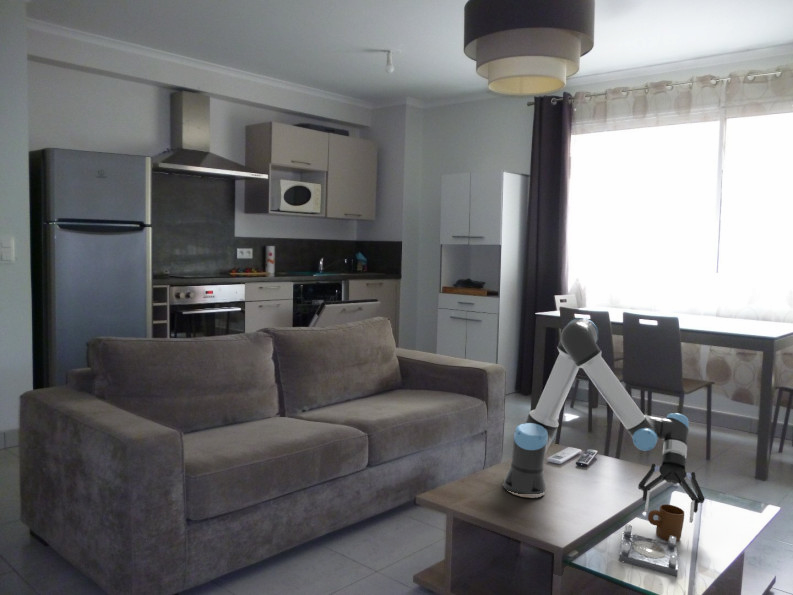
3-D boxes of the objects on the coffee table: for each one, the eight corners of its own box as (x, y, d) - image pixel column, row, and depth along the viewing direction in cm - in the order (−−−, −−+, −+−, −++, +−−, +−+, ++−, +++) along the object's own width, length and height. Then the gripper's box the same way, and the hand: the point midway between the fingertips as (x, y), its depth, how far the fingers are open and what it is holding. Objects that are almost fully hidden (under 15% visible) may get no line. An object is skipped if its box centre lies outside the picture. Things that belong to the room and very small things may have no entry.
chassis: (618, 560, 195) (621, 545, 194) (621, 537, 209) (624, 522, 209) (676, 576, 189) (679, 560, 188) (675, 551, 204) (678, 536, 203)
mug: (651, 543, 208) (656, 515, 206) (638, 531, 215) (642, 504, 214) (685, 542, 210) (690, 515, 209) (671, 530, 217) (675, 504, 216)
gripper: (712, 469, 222) (708, 529, 211) (634, 453, 231) (627, 510, 220) (716, 459, 217) (712, 521, 205) (636, 443, 226) (628, 501, 214)
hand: (668, 515), depth 212 cm, fingers open, 13 cm apart
